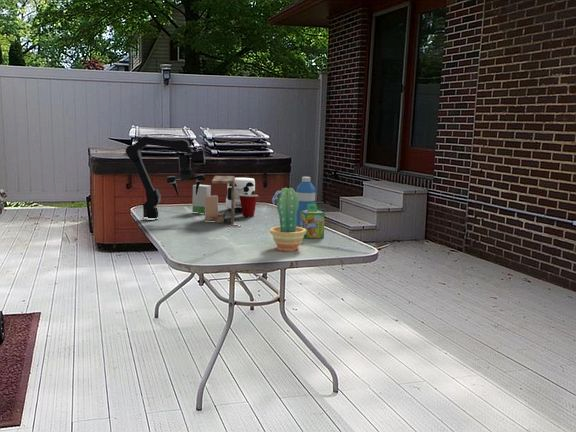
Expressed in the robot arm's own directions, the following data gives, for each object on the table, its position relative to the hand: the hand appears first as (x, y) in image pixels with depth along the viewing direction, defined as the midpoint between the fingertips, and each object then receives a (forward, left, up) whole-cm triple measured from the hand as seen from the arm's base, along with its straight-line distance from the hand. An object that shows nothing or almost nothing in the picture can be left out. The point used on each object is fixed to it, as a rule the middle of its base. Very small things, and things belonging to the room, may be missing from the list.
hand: (187, 195), depth 298 cm
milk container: (+18, +39, -13) cm, 45 cm away
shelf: (+16, +5, -13) cm, 21 cm away
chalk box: (+68, -22, -13) cm, 72 cm away
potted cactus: (+62, -49, -13) cm, 80 cm away
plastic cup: (+27, +21, -13) cm, 36 cm away
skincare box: (0, +23, -13) cm, 26 cm away
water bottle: (+62, -4, -13) cm, 63 cm away
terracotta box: (+12, +4, -13) cm, 18 cm away
